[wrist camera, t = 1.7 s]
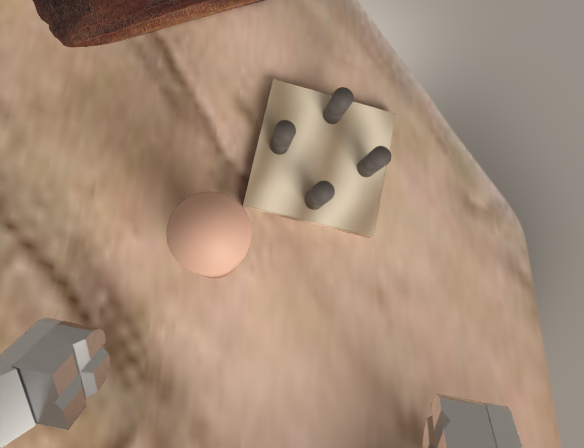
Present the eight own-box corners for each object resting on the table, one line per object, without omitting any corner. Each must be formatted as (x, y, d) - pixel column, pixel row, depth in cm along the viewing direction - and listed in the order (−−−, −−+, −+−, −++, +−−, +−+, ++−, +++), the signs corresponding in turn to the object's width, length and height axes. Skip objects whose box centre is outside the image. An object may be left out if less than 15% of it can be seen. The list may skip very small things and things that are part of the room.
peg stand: (242, 207, 44) (245, 195, 38) (271, 85, 46) (278, 56, 40) (368, 237, 45) (390, 230, 40) (390, 118, 48) (414, 96, 42)
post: (184, 272, 42) (156, 264, 24) (196, 223, 43) (178, 182, 25) (233, 282, 43) (241, 283, 25) (244, 235, 43) (259, 202, 26)
